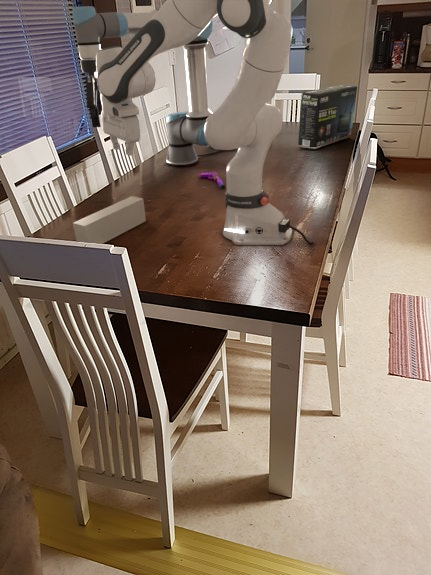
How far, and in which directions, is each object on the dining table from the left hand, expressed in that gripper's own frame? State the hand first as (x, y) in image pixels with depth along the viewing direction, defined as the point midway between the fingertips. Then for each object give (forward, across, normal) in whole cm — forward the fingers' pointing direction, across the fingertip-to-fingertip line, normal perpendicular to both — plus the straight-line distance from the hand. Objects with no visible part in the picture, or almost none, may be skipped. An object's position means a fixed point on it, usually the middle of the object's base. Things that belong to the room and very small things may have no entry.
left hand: (101, 123), depth 169 cm
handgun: (+29, -16, +40) cm, 51 cm away
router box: (+29, -76, +98) cm, 127 cm away
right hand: (+4, +27, +13) cm, 30 cm away
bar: (+29, +35, +8) cm, 46 cm away
